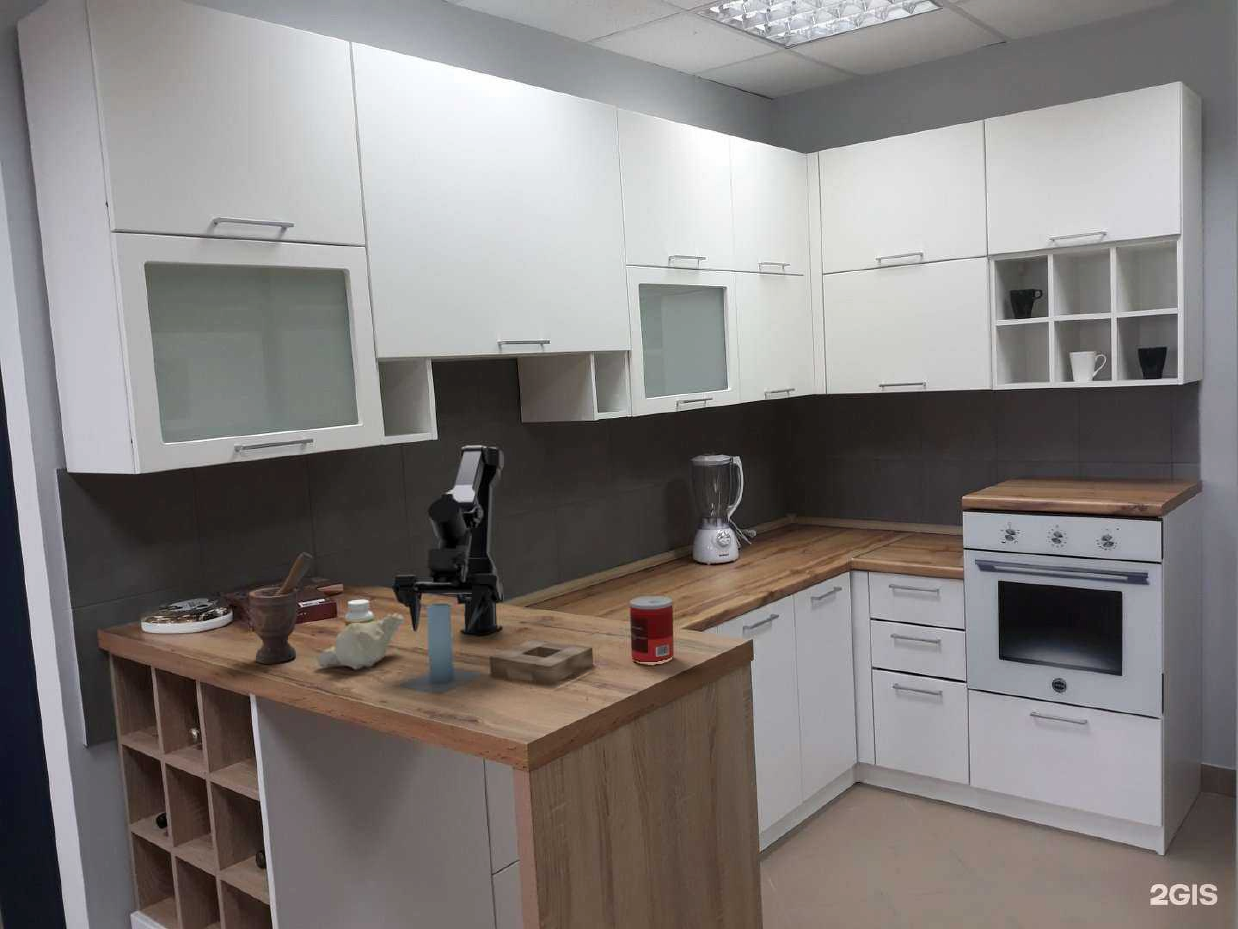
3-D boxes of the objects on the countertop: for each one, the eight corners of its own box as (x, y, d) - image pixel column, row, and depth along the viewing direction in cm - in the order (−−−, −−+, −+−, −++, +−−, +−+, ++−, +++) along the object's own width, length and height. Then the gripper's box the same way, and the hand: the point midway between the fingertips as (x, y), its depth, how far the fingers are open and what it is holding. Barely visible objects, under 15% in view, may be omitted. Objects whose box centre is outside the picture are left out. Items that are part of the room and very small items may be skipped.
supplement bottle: (367, 655, 191) (365, 605, 190) (341, 654, 192) (339, 604, 191) (379, 647, 196) (377, 598, 196) (354, 646, 198) (352, 598, 197)
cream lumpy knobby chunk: (323, 691, 176) (387, 636, 176) (302, 658, 179) (365, 604, 178) (364, 691, 191) (423, 640, 190) (344, 660, 193) (402, 610, 192)
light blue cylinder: (440, 675, 176) (437, 602, 174) (458, 678, 173) (454, 604, 172) (425, 681, 172) (421, 607, 171) (442, 684, 170) (439, 610, 169)
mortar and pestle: (302, 647, 198) (296, 547, 196) (323, 655, 192) (317, 552, 190) (245, 659, 190) (239, 556, 188) (265, 668, 184) (259, 561, 182)
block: (534, 657, 186) (534, 639, 186) (593, 666, 180) (592, 647, 179) (490, 676, 175) (489, 656, 175) (550, 686, 169) (550, 666, 168)
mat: (443, 669, 181) (443, 667, 180) (486, 676, 175) (486, 674, 175) (396, 687, 170) (395, 685, 170) (440, 696, 165) (440, 694, 165)
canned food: (678, 655, 185) (677, 596, 184) (666, 667, 178) (665, 606, 177) (639, 652, 188) (637, 595, 187) (625, 664, 180) (624, 604, 179)
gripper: (392, 530, 177) (376, 605, 167) (496, 528, 176) (486, 604, 166) (406, 566, 186) (392, 639, 176) (505, 564, 185) (496, 638, 175)
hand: (440, 629), depth 173 cm, fingers open, 9 cm apart
